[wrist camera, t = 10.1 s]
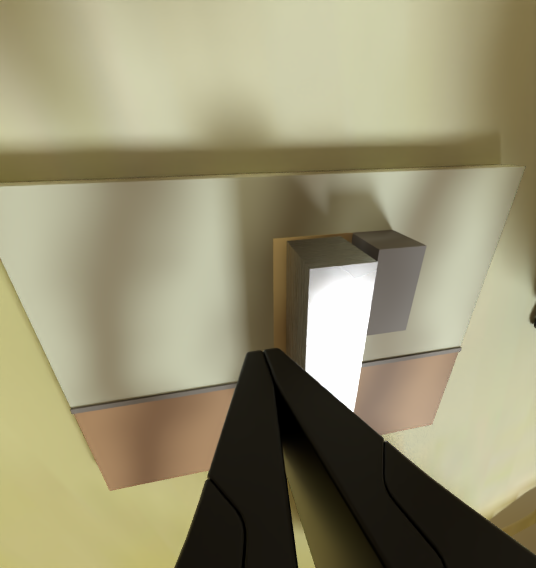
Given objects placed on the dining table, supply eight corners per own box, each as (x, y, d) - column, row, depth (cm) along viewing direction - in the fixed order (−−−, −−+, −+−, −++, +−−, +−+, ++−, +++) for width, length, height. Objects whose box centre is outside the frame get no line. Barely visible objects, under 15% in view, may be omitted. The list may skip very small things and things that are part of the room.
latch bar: (331, 429, 18) (358, 490, 15) (276, 441, 17) (291, 507, 14) (353, 234, 12) (404, 266, 9) (272, 242, 12) (297, 278, 9)
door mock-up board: (502, 164, 14) (585, 170, 11) (421, 410, 22) (456, 454, 19) (-9, 183, 10) (-99, 200, 7) (115, 470, 18) (96, 537, 15)
